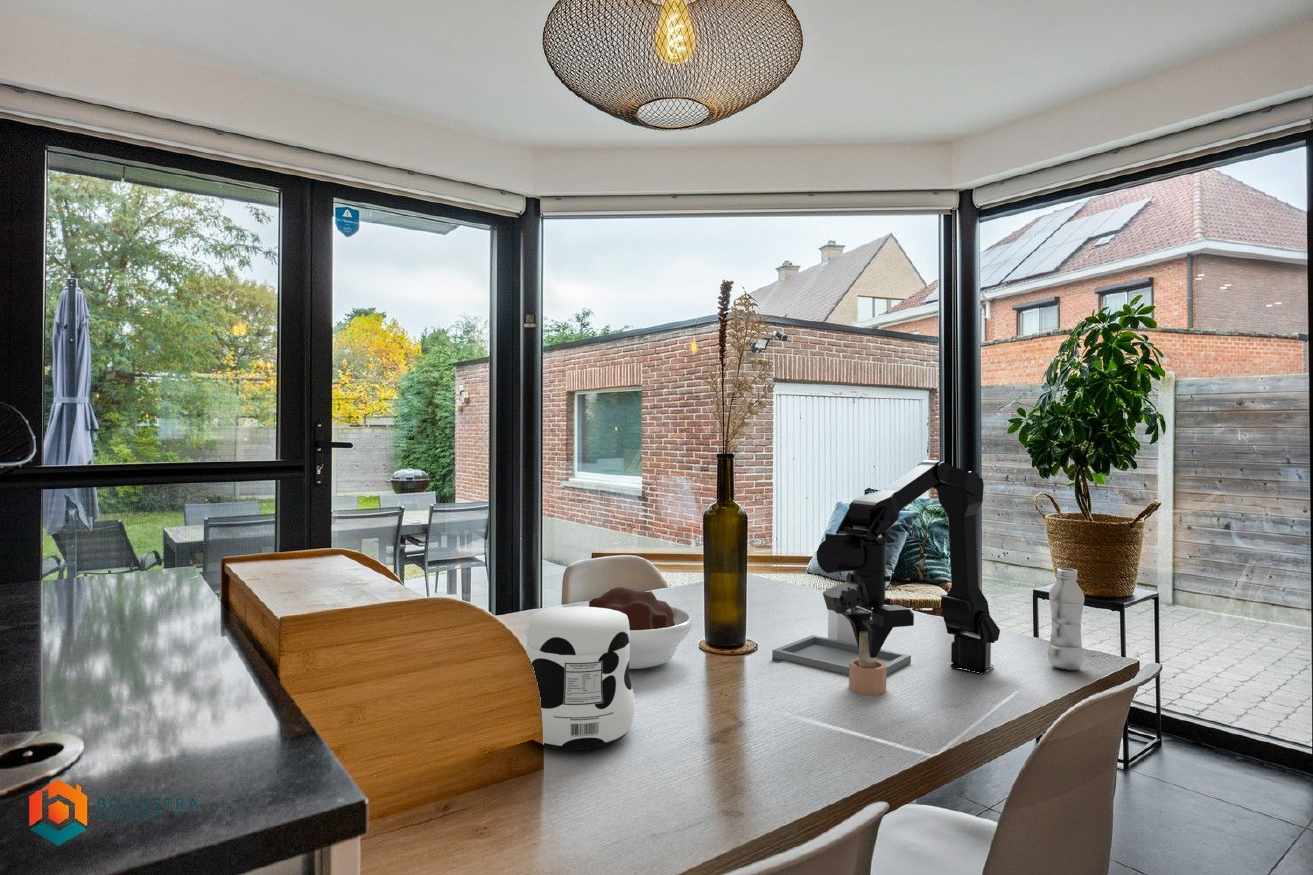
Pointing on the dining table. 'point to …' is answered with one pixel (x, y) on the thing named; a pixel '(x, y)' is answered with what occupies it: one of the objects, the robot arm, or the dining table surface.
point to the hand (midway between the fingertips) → (867, 654)
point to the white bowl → (647, 625)
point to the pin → (865, 651)
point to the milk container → (582, 675)
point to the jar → (840, 628)
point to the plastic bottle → (1066, 621)
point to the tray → (833, 655)
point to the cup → (867, 678)
